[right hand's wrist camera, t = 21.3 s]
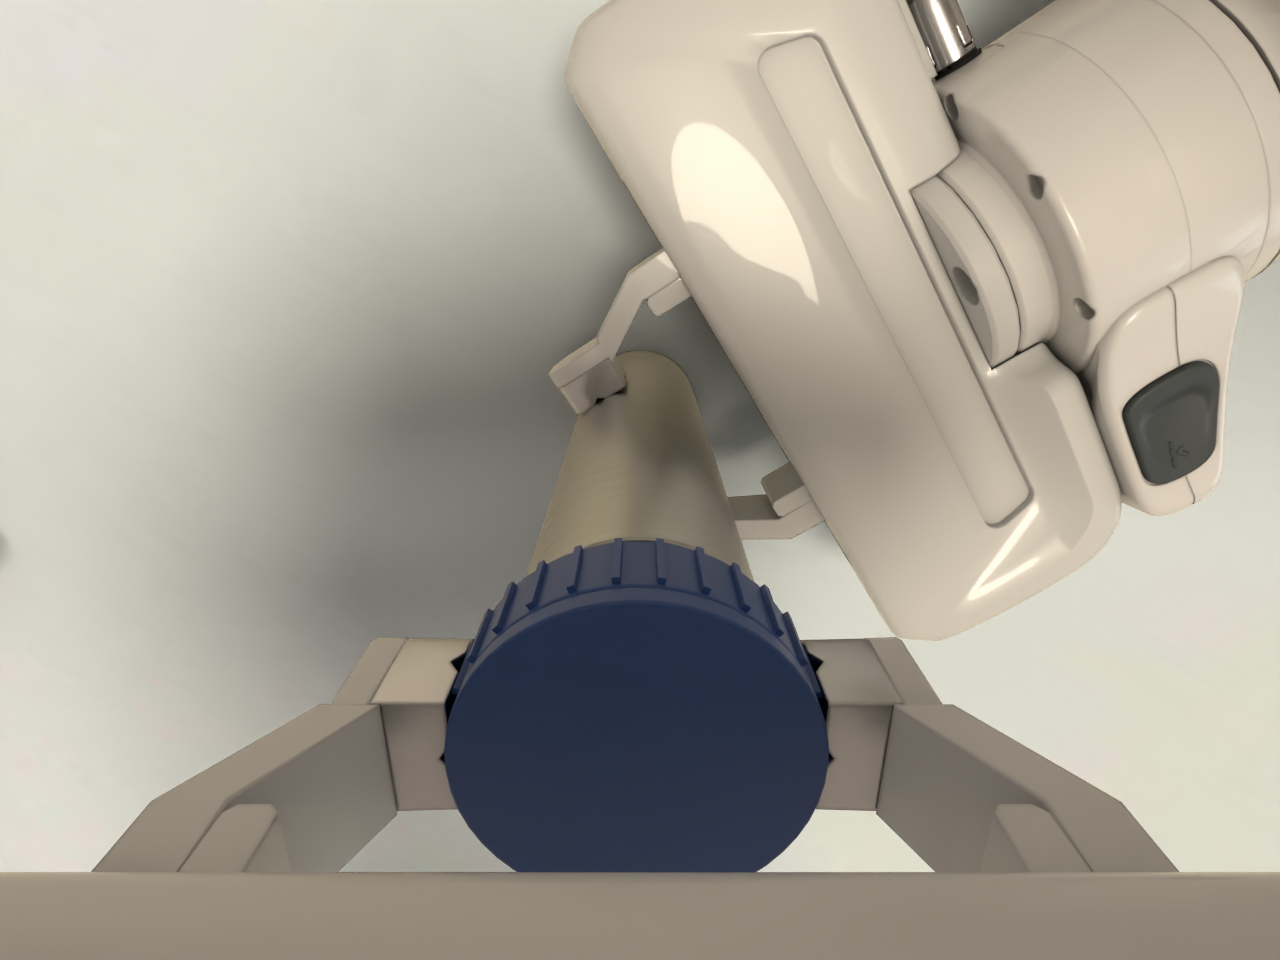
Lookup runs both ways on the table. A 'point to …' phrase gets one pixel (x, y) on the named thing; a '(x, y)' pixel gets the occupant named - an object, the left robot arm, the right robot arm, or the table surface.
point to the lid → (636, 718)
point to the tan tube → (641, 472)
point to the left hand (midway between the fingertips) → (616, 466)
